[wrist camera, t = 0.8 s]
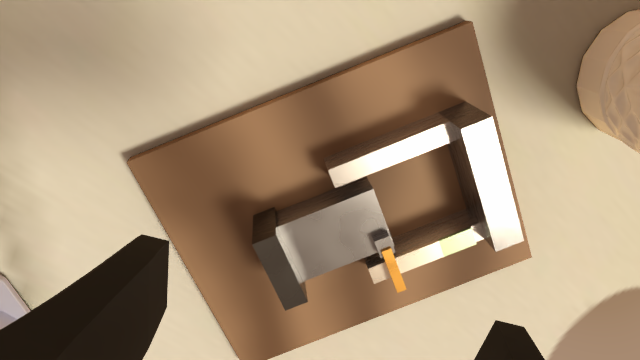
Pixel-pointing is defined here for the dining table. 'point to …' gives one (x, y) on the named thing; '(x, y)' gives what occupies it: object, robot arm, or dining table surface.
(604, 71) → the white cup
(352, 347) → the dining table surface
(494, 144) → the gauge body
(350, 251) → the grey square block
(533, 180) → the dining table surface
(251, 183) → the walnut board
